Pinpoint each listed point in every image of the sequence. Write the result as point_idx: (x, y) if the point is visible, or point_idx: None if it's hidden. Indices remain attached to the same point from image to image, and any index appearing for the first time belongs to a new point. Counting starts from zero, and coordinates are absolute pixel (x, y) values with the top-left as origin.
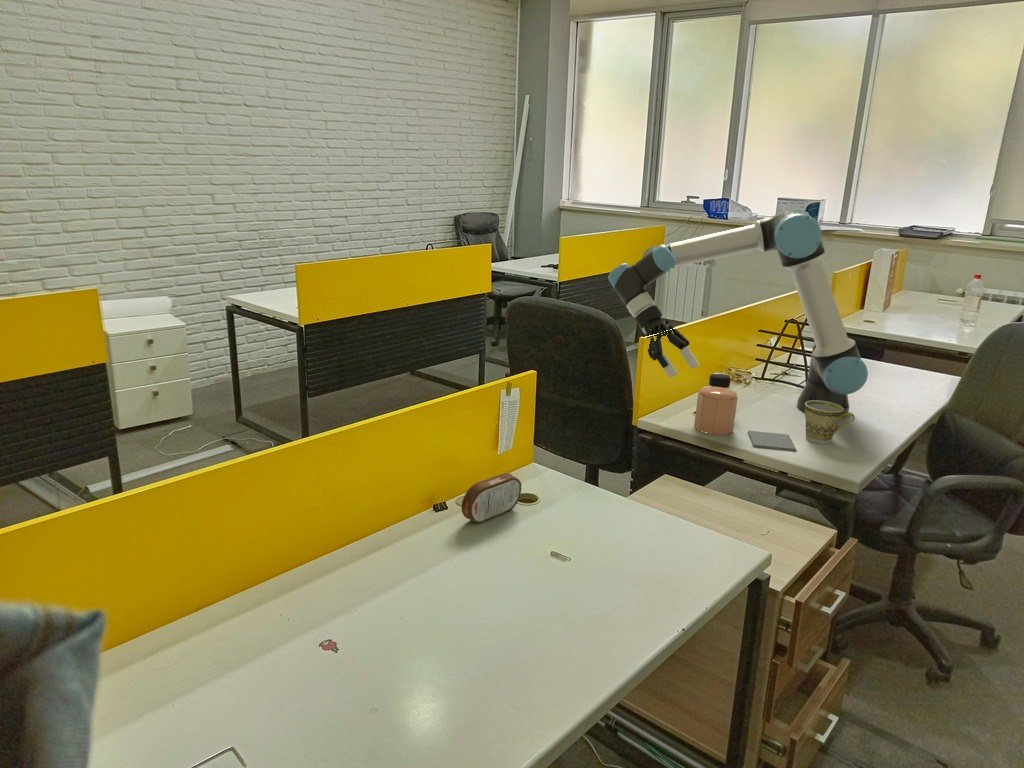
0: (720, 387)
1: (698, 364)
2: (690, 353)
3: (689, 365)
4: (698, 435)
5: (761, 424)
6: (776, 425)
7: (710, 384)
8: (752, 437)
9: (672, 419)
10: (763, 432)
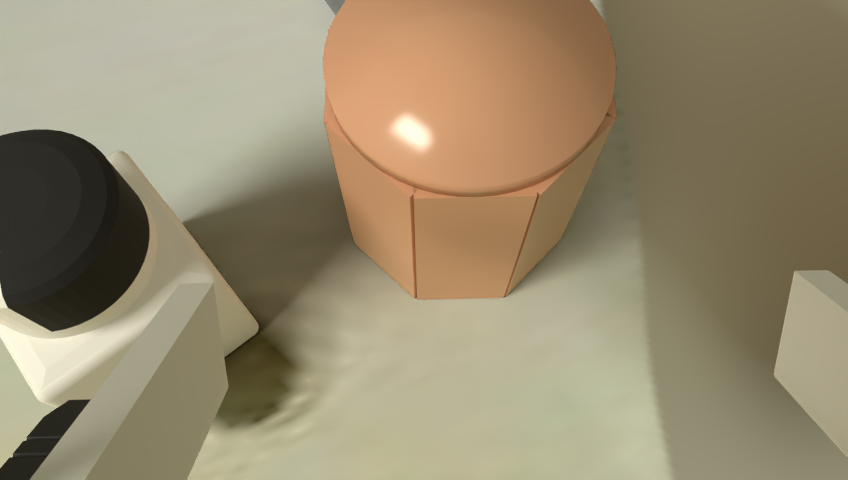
0: (336, 92)
1: (210, 283)
2: (145, 392)
3: (211, 418)
4: (626, 208)
5: (190, 64)
6: (152, 14)
7: (123, 288)
8: None
9: (510, 455)
10: (338, 1)
